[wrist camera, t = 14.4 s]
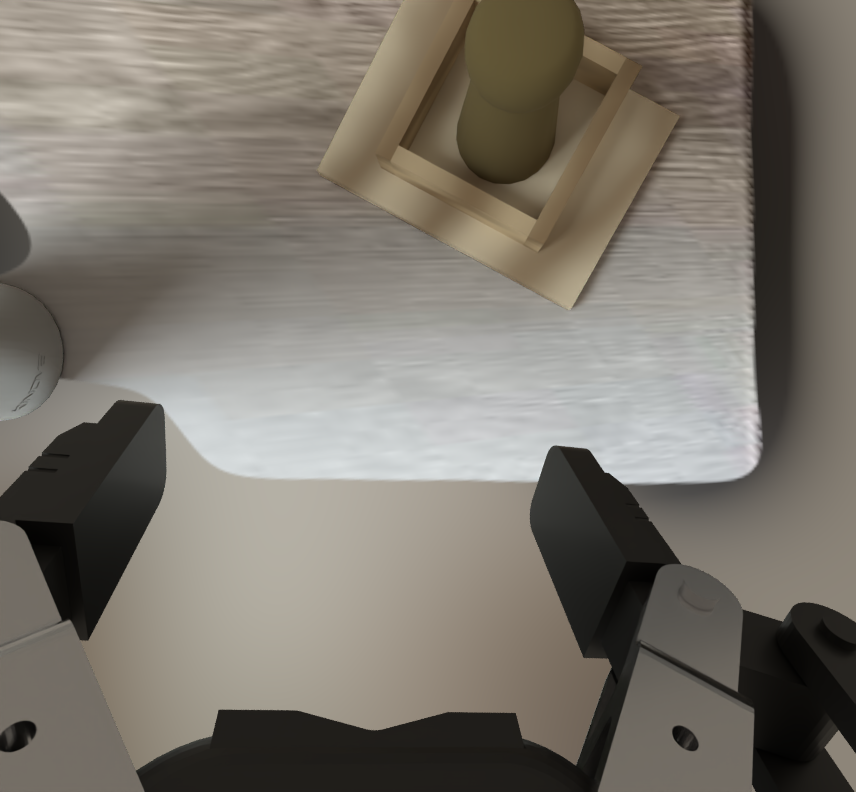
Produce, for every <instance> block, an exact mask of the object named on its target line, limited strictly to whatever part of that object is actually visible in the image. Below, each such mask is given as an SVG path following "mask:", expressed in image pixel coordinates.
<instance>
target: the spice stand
mask: <svg viewBox="0 0 856 792" xmlns="http://www.w3.org/2000/svg"><path fill="white" fill-rule="evenodd" d="M480 1H481V0H403V2H402V4H401V6H400V8H399V10H398V12H397V14H396V16H395V18H394V20H393V22H392V24H391V26H390V28H389V30H388V32H387V34H386V36H385V37H384V39H383V41H382V43H381V45H380V47H379V49H378V51H377V53H376V55H375V57H374V59H373V61H372V63H371V65H370V67H369V69H368V71H367V73H366V75H365V77H364V79H363V81H362V83H361V85H360V87H359V89H358V91H357V92H356V94H355V96H354V98H353V100H352V102H351V104H350V106H349V108H348V110H347V112H346V114H345V116H344V118H343V120H342V122H341V124H340V126H339V128H338V130H337V132H336V134H335V136H334V138H333V140H332V142H331V144H330V146H329V148H328V149H327V151H326V153H325V155H324V157H323V159H322V161H321V163H320V165H319V167H318V169H317V171H318V173H319V174H320V175H321V176H322V177H324V178H326V179H328V180H329V181H331V182H333V183H335V184H337V185H339V186H340V187H342V188H344V189H346V190H348V191H350V192H352V193H353V194H355V195H357V196H359V197H361V198H363V199H364V200H366V201H368V202H370V203H372V204H374V205H375V206H377V207H379V208H381V209H383V210H385V211H386V212H388V213H390V214H392V215H394V216H396V217H397V218H399V219H401V220H403V221H405V222H407V223H408V224H410V225H412V226H414V227H416V228H418V229H419V230H421V231H423V232H425V233H427V234H429V235H431V236H432V237H434V238H436V239H438V240H440V241H442V242H443V243H445V244H447V245H449V246H451V247H453V248H454V249H456V250H458V251H460V252H462V253H464V254H465V255H467V256H469V257H471V258H473V259H475V260H476V261H478V262H480V263H482V264H484V265H486V266H487V267H489V268H491V269H493V270H495V271H497V272H498V273H500V274H502V275H504V276H506V277H508V278H509V279H511V280H513V281H515V282H517V283H519V284H521V285H522V286H524V287H526V288H528V289H530V290H532V291H533V292H535V293H537V294H539V295H541V296H543V297H544V298H546V299H548V300H550V301H552V302H554V303H555V304H557V305H559V306H561V307H563V308H565V309H566V310H570V309H571V308H572V307H573V305H574V303H575V301H576V299H577V298H578V296H579V294H580V292H581V291H582V289H583V287H584V285H585V283H586V282H587V280H588V278H589V276H590V275H591V273H592V271H593V269H594V268H595V266H596V264H597V262H598V260H599V259H600V257H601V255H602V253H603V252H604V250H605V248H606V246H607V245H608V243H609V241H610V239H611V237H612V236H613V234H614V232H615V230H616V229H617V227H618V225H619V223H620V221H621V220H622V218H623V216H624V214H625V213H626V211H627V209H628V207H629V206H630V204H631V202H632V200H633V198H634V197H635V195H636V193H637V191H638V190H639V188H640V186H641V184H642V183H643V181H644V179H645V177H646V175H647V174H648V172H649V170H650V168H651V167H652V165H653V163H654V161H655V159H656V158H657V156H658V154H659V152H660V151H661V149H662V147H663V145H664V144H665V142H666V140H667V138H668V136H669V135H670V133H671V131H672V129H673V128H674V126H675V124H676V122H677V121H678V119H679V117H680V116H679V115H677V114H675V113H673V112H672V111H670V110H668V109H666V108H664V107H662V106H660V105H659V104H657V103H655V102H653V101H651V100H649V99H647V98H645V97H644V96H642V95H640V94H638V93H636V92H634V91H632V90H631V89H630V88H631V86H632V84H633V82H634V80H635V78H636V77H637V75H638V73H639V71H640V69H641V68H642V66H641V65H639V64H637V63H636V62H634V61H632V60H630V59H628V58H626V57H624V56H623V55H621V54H619V53H617V52H615V51H613V50H611V49H609V48H608V47H606V46H604V45H602V44H600V43H598V42H596V41H594V40H593V39H591V38H589V37H587V36H585V35H584V47H583V56H582V59H581V61H580V64H579V66H578V69H577V71H576V74H575V76H574V78H573V81H572V82H571V83H570V84H569V86H568V87H567V88H566V89H565V91H564V92H563V93H562V94H561V95H560V99H559V108H558V117H557V126H556V135H555V144H554V147H553V149H552V152H551V154H550V157H549V159H548V160H547V161H546V163H545V164H544V165H543V166H542V168H541V169H540V170H539V171H538V172H537V173H535V174H534V175H532V176H531V177H529V178H527V179H526V180H524V181H520V182H516V183H513V184H494V183H492V182H489V181H487V180H484V179H481V178H479V177H478V176H477V175H476V174H475V173H473V172H472V171H471V170H470V169H469V168H468V167H467V165H466V164H465V162H464V161H463V159H462V157H461V156H460V153H459V149H458V145H457V141H456V136H457V123H458V120H459V117H460V113H461V110H462V107H463V103H464V100H465V97H466V93H467V90H468V87H469V83H470V78H469V75H468V71H467V66H466V62H465V37H466V30H467V28H468V25H469V23H470V20H471V17H472V15H473V12H474V10H475V8H476V6H477V5H478V4H479V3H480Z"/></svg>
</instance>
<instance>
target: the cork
mask: <svg viewBox="0 0 856 792" xmlns="http://www.w3.org/2000/svg"><path fill="white" fill-rule="evenodd" d="M583 47H584V26H583V22H582V17H581V13H580V10H579V8H578V7H577V5H576V3H575V2H574V0H481V1H480V3H479V4H478V5H477V6H476V8H475V10H474V12H473V15H472V17H471V20H470V23H469V25H468V28H467V30H466V37H465V62H466V66H467V71H468V75H469V78H470V83H469V87H468V90H467V93H466V97H465V100H464V103H463V107H462V110H461V113H460V117H459V120H458V123H457V136H456V141H457V145H458V149H459V153H460V156H461V157H462V159H463V161H464V162H465V164H466V165H467V167H468V168H469V169H470V170H471V171H472V172H473V173H475V174H476V175H477V176H478V177H479V178H481V179H484V180H487V181H489V182H492V183H494V184H513V183H516V182H520V181H524V180H526V179H527V178H529V177H531V176H532V175H534V174H535V173H537V172H538V171H539V170H540V169H541V168H542V166H543V165H544V164H545V163H546V161H547V160H548V159H549V157H550V154H551V152H552V149H553V147H554V144H555V135H556V126H557V117H558V108H559V99H560V95H561V94H562V93H563V92H564V91H565V89H566V88H567V87H568V86H569V84H570V83H571V82H572V81H573V78H574V76H575V74H576V71H577V69H578V66H579V64H580V61H581V59H582V56H583Z"/></svg>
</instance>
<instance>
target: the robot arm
mask: <svg viewBox="0 0 856 792" xmlns="http://www.w3.org/2000/svg"><path fill="white" fill-rule="evenodd" d="M62 364H63V346H62V340H61V337H60V333H59V329H58V327H57V325H56V323H55V321H54V319H53V317H52V316H51V314H50V313H49V312H48V310H47V309H46V308H45V307H44V305H43V304H42V303H41V302H39V301H38V300H37V299H36V298H35V297H33V296H32V295H31V294H29V293H27V292H25V291H23V290H22V289H20V288H17V287H13V286H10V285H7V284H2V283H0V421H1V420H10V419H16V418H19V417H22V416H24V415H27V414H29V413H31V412H32V411H34V410H35V409H37V408H38V407H40V406H41V405H42V404H43V403H44V402H45V401H46V400H47V399H48V398H49V397H50V395H51V393H52V392H53V390H54V389H55V387H56V385H57V383H58V380H59V377H60V374H61V371H62ZM165 481H166V444H165V417H164V409H163V407H162V405H161V404H154V403H144V402H134V401H124V400H118V401H116V403H114V405H113V406H112V407H111V408H110V409H109V410H108V412H107V413H106V414H105V415H104V416H103V417H102V419H101V420H100V421H99V422H98V423H97V424H96V423H85V422H84V423H82V424H80V425H78V426H76V427H74V428H72V429H70V430H68V431H66V432H64V433H62V434H60V435H59V436H57V437H56V438H55V440H54V441H53V442H52V443H51V444H50V445H49V446H48V447H47V448H46V449H45V450H44V451H43V452H42V456H39V457H38V458H37V459H36V460H35V461H34V462H33V463H32V464H31V465H30V466H29V469H28V471H24V472H23V473H22V475H21V476H20V477H19V478H18V479H17V480H16V481H15V482H14V483H13V484H12V485H11V486H10V487H9V488H8V489H7V490H6V491H5V492H4V494H3V495H2V496H1V497H0V792H751V791H752V785H753V787H754V789H755V791H756V792H854V790H853V789H852V787H851V786H850V785H849V783H848V782H847V780H846V779H845V777H844V776H843V774H842V773H841V771H840V770H839V768H838V767H837V765H836V764H835V762H834V761H833V760H832V758H831V757H830V755H829V754H828V752H827V751H826V749H825V748H824V747H825V746H826V745H827V744H828V742H829V741H830V740H831V739H832V737H833V736H834V735H835V734H836V732H837V731H838V730H839V731H840V732H841V734H842V735H843V736H844V738H845V739H846V741H847V742H848V743H849V745H850V746H851V747H852V749H853V750H854V752H855V753H856V623H855V622H854V621H852V620H851V619H849V618H848V617H846V616H844V615H842V614H841V613H839V612H837V611H835V610H833V609H830V608H828V607H825V606H822V605H819V604H814V603H805V602H804V603H798V604H796V605H794V606H793V607H792V609H791V610H790V612H789V613H788V615H787V616H786V618H785V619H784V621H783V622H782V621H778V620H775V619H772V618H769V617H765V616H762V615H759V614H756V613H752V612H749V611H746V610H743V609H742V607H741V605H740V603H739V601H738V599H737V598H736V597H735V596H734V594H733V593H732V592H731V591H730V590H729V589H728V588H727V587H726V586H725V585H724V584H723V583H721V582H720V581H719V580H717V579H716V578H714V577H713V576H711V575H709V574H707V573H705V572H704V571H701V570H699V569H696V568H693V567H691V566H687V565H682V564H681V563H680V562H679V560H678V559H677V557H676V556H675V554H674V553H673V551H672V550H671V549H670V547H669V546H668V544H667V543H666V542H665V540H664V539H663V537H662V536H661V535H660V533H659V532H658V530H657V529H656V528H655V526H654V525H653V523H652V522H650V521H649V518H648V516H647V515H646V514H645V512H644V511H643V509H642V508H639V504H638V502H637V501H636V499H635V498H634V497H633V495H632V494H631V492H630V491H629V490H628V488H627V487H626V486H624V485H623V484H622V483H621V482H619V481H618V480H617V479H616V478H614V477H613V476H612V475H611V474H609V473H604V471H603V470H602V468H601V467H600V465H599V464H598V462H597V461H596V459H595V458H594V456H593V455H592V453H591V452H590V451H589V450H588V449H584V448H574V447H565V446H553V447H551V448H550V450H549V452H548V454H547V456H546V459H545V462H544V466H543V469H542V472H541V475H540V478H539V481H538V484H537V487H536V490H535V494H534V496H533V500H532V503H531V509H530V524H531V529H532V532H533V535H534V537H535V540H536V542H537V545H538V547H539V549H540V552H541V554H542V557H543V559H544V562H545V564H546V567H547V569H548V571H549V574H550V576H551V579H552V581H553V583H554V586H555V588H556V591H557V594H558V596H559V598H560V601H561V603H562V606H563V608H564V611H565V613H566V616H567V618H568V621H569V623H570V625H571V628H572V630H573V633H574V635H575V638H576V640H577V642H578V645H579V648H580V650H581V652H582V654H583V657H584V658H608V659H609V662H610V664H611V666H612V668H611V670H610V672H609V674H608V676H607V678H606V681H605V684H604V686H603V689H602V692H601V695H600V698H599V701H598V704H597V707H596V710H595V712H594V716H593V718H592V721H591V725H590V727H589V730H588V733H587V736H586V739H585V742H584V744H583V747H582V750H581V753H580V756H579V759H578V761H577V764H576V766H575V765H574V764H573V763H571V762H570V761H568V760H567V759H565V758H564V757H562V756H560V755H559V754H557V753H555V752H553V751H551V750H549V749H548V748H546V747H543V746H541V745H539V744H536V743H534V742H531V741H529V740H525V739H522V736H521V732H520V728H519V724H518V721H517V716H516V713H467V712H466V713H464V712H447V713H443V714H440V715H436V716H432V717H428V718H424V719H421V720H417V721H413V722H409V723H406V724H402V725H398V726H394V727H390V728H386V729H383V730H378V731H377V730H375V731H374V730H366V729H363V728H359V727H356V726H352V725H348V724H344V723H341V722H337V721H334V720H330V719H326V718H323V717H319V716H315V715H311V714H308V713H304V712H300V711H289V710H286V711H285V710H219V711H218V715H217V719H216V723H215V728H214V732H213V736H212V737H208V738H204V739H200V740H197V741H194V742H191V743H189V744H186V745H183V746H180V747H178V748H176V749H174V750H172V751H170V752H168V753H166V754H164V755H162V756H160V757H157V758H156V759H154V760H153V761H151V762H149V763H148V764H146V765H145V766H143V767H141V768H140V769H138V770H135V768H134V766H133V763H132V761H131V759H130V756H129V754H128V752H127V749H126V747H125V745H124V743H123V740H122V738H121V735H120V733H119V731H118V728H117V726H116V724H115V721H114V719H113V717H112V714H111V712H110V710H109V707H108V705H107V703H106V700H105V698H104V696H103V693H102V691H101V689H100V686H99V684H98V681H97V679H96V677H95V675H94V672H93V670H92V667H91V665H90V663H89V660H88V658H87V656H86V653H85V651H84V649H83V646H82V644H81V642H80V640H89V638H90V636H91V634H92V632H93V630H94V628H95V626H96V624H97V623H98V621H99V619H100V617H101V615H102V613H103V611H104V609H105V607H106V605H107V603H108V601H109V599H110V597H111V596H112V594H113V592H114V590H115V588H116V586H117V584H118V582H119V580H120V578H121V576H122V574H123V573H124V571H125V569H126V567H127V565H128V563H129V561H130V559H131V557H132V555H133V553H134V551H135V550H136V547H137V546H138V544H139V542H140V540H141V538H142V536H143V534H144V532H145V530H146V528H147V526H148V524H149V523H150V521H151V519H152V517H153V515H154V513H155V511H156V509H157V507H158V505H159V503H160V501H161V498H162V495H163V492H164V488H165Z"/></svg>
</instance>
